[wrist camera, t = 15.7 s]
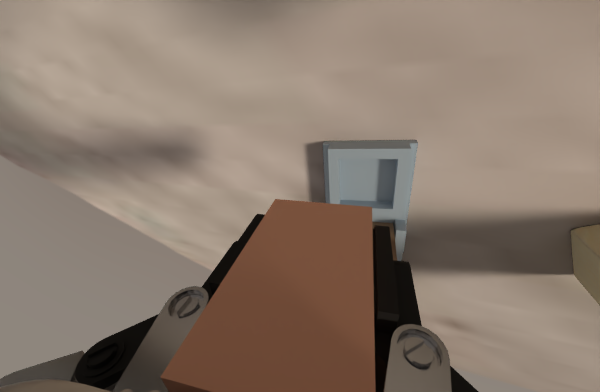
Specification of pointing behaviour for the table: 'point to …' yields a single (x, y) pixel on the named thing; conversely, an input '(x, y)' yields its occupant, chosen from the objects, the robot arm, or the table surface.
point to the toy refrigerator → (587, 258)
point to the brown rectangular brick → (289, 309)
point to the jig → (372, 179)
